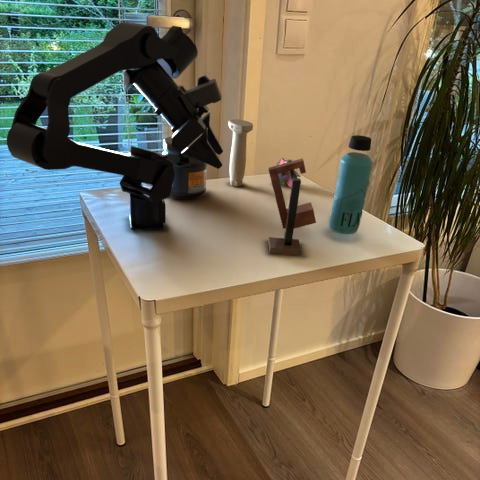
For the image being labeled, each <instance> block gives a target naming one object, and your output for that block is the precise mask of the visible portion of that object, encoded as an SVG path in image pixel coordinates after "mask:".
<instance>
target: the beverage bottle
mask: <svg viewBox="0 0 480 480" xmlns="http://www.w3.org/2000/svg"><path fill="white" fill-rule="evenodd" d="M348 149H351V150H354V151H351V152H350V151H349V152H348V153H346V154H344V155H343V156H342V157H341V158H340V163H339V168H338V174H337V180H336V184H335V190H334V194H333V197H332V198H333V199H332V204H331V209H330V214H329V220H328V228H329V229H330V230H331V231H333V232H335V233H337V234H342V235H353V234H356V233H357V232H358V230H359V228H360V226H361V220H362V218H363V213H364V208H365V203H366V197H367V193H368V187H369V186H370V180H371V174H372V173H371V172H372V167H373V165H374V163H373V160H372V159H371V157H370V156H369V155H368V154H366V153H362V152H369V151H371V149H372V138H371V137H370V136H366V135H360V134H355V135H351V136H350V139H349V142H348ZM356 151H360V152H356Z"/></svg>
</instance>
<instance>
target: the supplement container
mask: <svg viewBox="0 0 480 480" xmlns="http://www.w3.org/2000/svg"><path fill="white" fill-rule="evenodd" d="M172 136H173V135H171V136H168V137H165V138H164V139H163V140H162V141H163V145H162V146H163V150H164V151H163V152H162V153H161V154H164V155H167V156H168V158H167V159H168V160H170V161H172V163H173V168H174V172H175V176H174V180H173V184H172V188H171V193H170V197H169V198H173V199H177V200H195V199H199V198H201V197H203V196H204V195H205V194H206V192H207V170H208V164H206V163H204V162H202V161H200V160H197V159H195V158H192V157H190V156H188V155H183V154H182V152H181V153H180V154H179V153H178V152H177V151H176V150H175V149H174V148H173V147H172Z"/></svg>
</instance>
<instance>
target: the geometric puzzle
mask: <svg viewBox="0 0 480 480" xmlns="http://www.w3.org/2000/svg"><path fill="white" fill-rule="evenodd" d="M287 160H291V159H286V158H283V157H280V159H279V160H278V162H276V166H277V165H280V164H284V163H285V162H286V161H287ZM295 160H296V159H295ZM295 160H294V159H293V161H295ZM285 173H286V175H284V176H282V174H281V173H280V174H278V175H279V179H280V184H281V185H282V184H285V185H286V187H288V188H290V189H291V186H292V181H291V178H290V175H289V172H288V171H287V172H285ZM295 173H296V176H297V178H299V179H301V174H300V173H299V172H298V171H297V170H295Z"/></svg>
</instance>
